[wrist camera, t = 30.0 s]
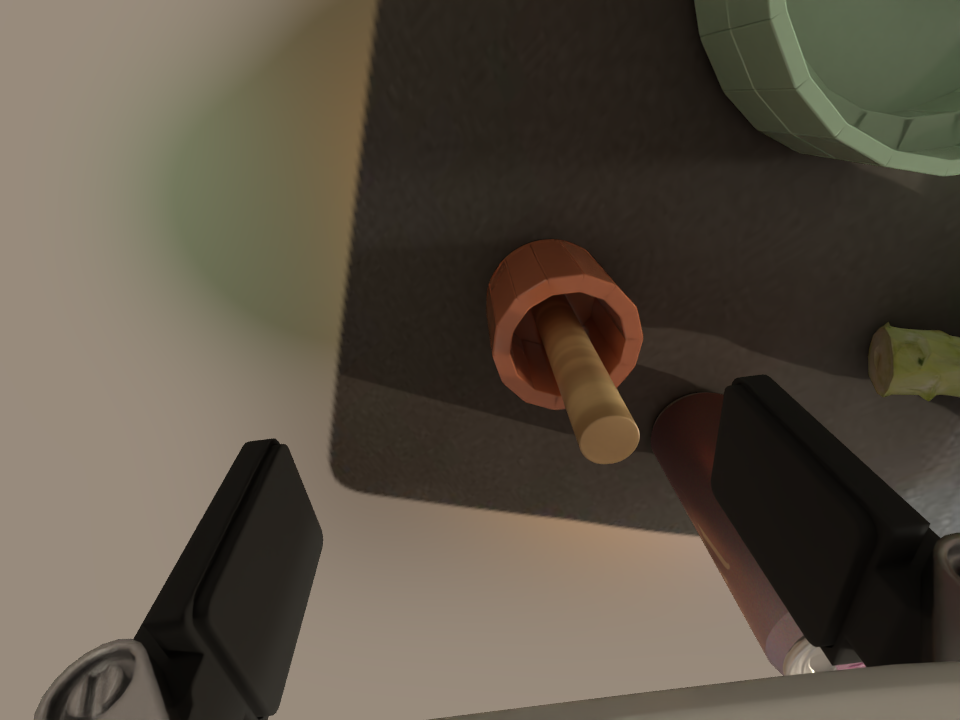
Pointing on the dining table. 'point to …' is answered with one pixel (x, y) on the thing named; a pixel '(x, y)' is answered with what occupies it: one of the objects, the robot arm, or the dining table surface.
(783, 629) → the beverage can
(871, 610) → the robot arm
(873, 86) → the bowl
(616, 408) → the stick
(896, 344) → the vegetable
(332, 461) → the dining table surface
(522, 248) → the holder
